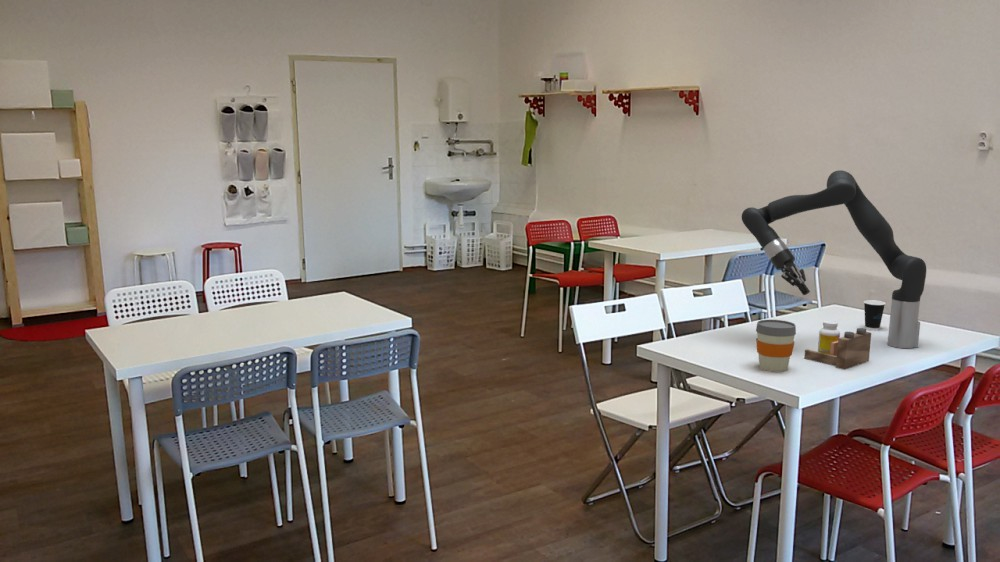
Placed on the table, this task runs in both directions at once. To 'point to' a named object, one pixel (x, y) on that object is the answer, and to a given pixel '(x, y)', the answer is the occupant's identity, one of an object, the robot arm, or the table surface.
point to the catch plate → (834, 348)
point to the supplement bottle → (828, 336)
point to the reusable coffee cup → (775, 344)
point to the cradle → (846, 350)
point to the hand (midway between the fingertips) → (806, 293)
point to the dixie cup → (873, 314)
